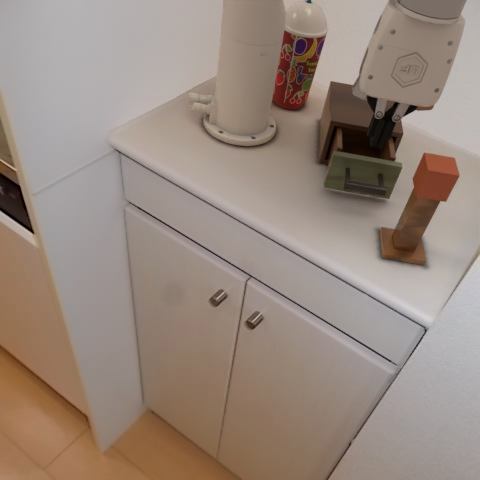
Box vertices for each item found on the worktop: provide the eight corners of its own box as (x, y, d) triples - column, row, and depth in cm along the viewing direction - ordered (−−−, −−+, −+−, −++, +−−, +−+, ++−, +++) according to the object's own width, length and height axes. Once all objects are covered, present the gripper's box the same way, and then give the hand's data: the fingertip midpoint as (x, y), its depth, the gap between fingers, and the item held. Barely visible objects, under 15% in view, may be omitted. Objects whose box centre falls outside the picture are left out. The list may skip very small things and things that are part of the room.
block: (415, 196, 67) (427, 169, 64) (412, 178, 69) (424, 152, 66) (446, 202, 67) (460, 175, 64) (441, 184, 69) (454, 157, 66)
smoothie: (307, 117, 96) (336, -3, 81) (263, 107, 97) (283, -15, 81) (312, 96, 102) (340, -20, 87) (270, 87, 102) (290, -31, 87)
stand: (382, 258, 73) (408, 200, 66) (379, 230, 77) (404, 173, 70) (423, 265, 74) (454, 208, 66) (419, 237, 78) (447, 180, 70)
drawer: (391, 218, 78) (405, 185, 74) (323, 206, 78) (333, 172, 74) (383, 155, 89) (395, 124, 85) (324, 144, 89) (332, 112, 85)
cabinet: (387, 174, 87) (403, 133, 82) (318, 162, 87) (330, 120, 81) (381, 132, 96) (396, 92, 90) (319, 121, 96) (330, 80, 90)
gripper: (367, -5, 56) (322, 146, 70) (503, 22, 56) (431, 167, 70) (364, -29, 61) (323, 117, 75) (489, -3, 61) (424, 137, 75)
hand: (375, 141), depth 72 cm, fingers closed
